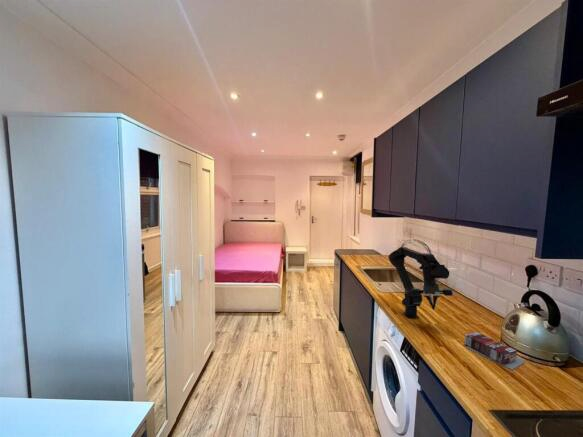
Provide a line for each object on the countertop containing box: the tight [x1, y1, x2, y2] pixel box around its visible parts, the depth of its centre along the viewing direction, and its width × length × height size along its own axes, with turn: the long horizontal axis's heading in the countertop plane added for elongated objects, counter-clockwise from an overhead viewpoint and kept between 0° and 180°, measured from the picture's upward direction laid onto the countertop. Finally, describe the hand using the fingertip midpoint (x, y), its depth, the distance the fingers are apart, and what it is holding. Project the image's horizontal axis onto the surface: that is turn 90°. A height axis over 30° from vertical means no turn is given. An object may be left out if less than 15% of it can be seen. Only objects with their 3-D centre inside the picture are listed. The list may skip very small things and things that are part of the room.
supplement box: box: [464, 331, 518, 366], centre depth 110 cm, size 9×5×16 cm
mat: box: [465, 345, 527, 371], centre depth 109 cm, size 17×12×1 cm
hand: (433, 309), depth 130 cm, fingers closed
